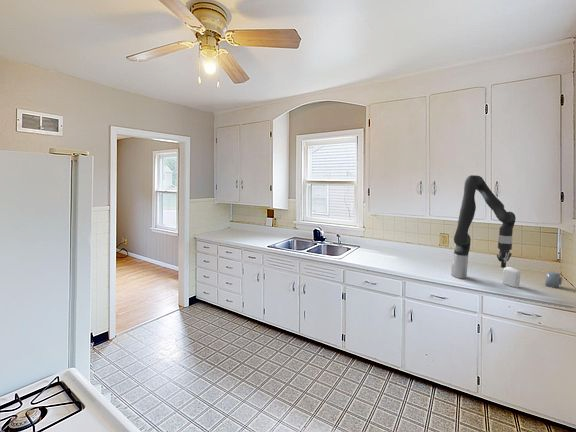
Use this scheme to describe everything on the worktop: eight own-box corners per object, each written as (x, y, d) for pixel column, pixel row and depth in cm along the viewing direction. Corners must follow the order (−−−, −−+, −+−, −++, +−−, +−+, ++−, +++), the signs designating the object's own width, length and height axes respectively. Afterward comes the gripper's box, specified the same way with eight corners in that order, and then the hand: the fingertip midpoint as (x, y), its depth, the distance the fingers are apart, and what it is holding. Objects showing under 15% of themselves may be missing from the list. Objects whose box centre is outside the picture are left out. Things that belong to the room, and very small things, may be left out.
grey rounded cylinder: (545, 286, 203) (547, 273, 202) (544, 283, 209) (545, 271, 208) (561, 289, 198) (563, 276, 197) (559, 285, 204) (561, 273, 203)
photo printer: (501, 283, 210) (502, 266, 209) (505, 282, 211) (507, 265, 210) (515, 288, 200) (517, 270, 199) (520, 287, 201) (522, 269, 200)
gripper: (505, 240, 204) (503, 264, 206) (493, 242, 198) (491, 267, 200) (517, 242, 197) (515, 267, 199) (505, 244, 191) (503, 270, 193)
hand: (503, 267), depth 200 cm, fingers closed
